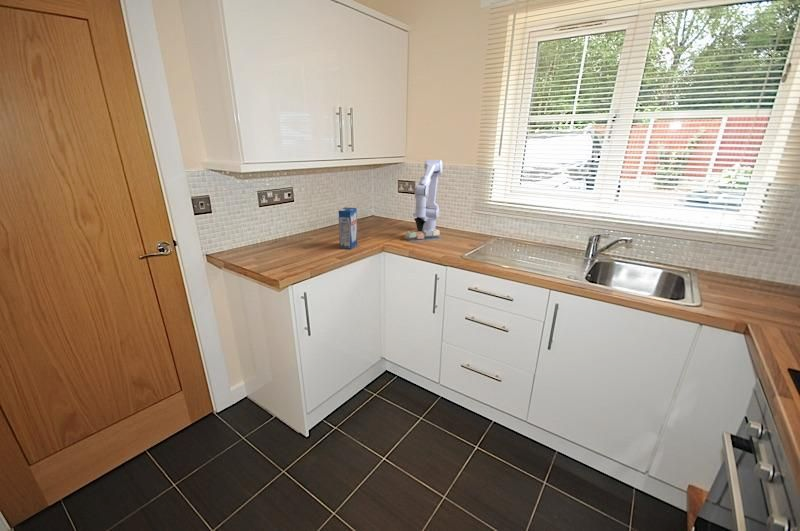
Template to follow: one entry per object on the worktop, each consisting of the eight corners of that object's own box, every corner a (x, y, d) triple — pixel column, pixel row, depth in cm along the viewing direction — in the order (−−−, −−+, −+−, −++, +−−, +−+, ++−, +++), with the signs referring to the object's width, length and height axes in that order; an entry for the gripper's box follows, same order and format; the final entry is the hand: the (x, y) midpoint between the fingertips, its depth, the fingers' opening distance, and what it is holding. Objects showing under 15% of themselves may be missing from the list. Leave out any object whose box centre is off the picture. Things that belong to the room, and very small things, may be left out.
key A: (430, 233, 201) (430, 229, 200) (436, 233, 203) (436, 229, 202) (433, 235, 198) (433, 231, 197) (439, 234, 199) (439, 230, 198)
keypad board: (403, 238, 200) (403, 236, 199) (433, 236, 207) (433, 234, 207) (411, 244, 190) (411, 242, 189) (443, 241, 197) (443, 239, 197)
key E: (406, 235, 196) (407, 231, 195) (413, 235, 197) (413, 231, 196) (409, 237, 192) (410, 233, 191) (416, 236, 194) (416, 232, 193)
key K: (422, 234, 199) (422, 230, 199) (428, 233, 201) (428, 229, 200) (425, 236, 196) (425, 231, 195) (431, 235, 197) (432, 231, 197)
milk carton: (351, 249, 178) (350, 211, 171) (339, 248, 179) (338, 210, 172) (357, 244, 187) (356, 208, 180) (346, 243, 188) (345, 207, 181)
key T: (414, 237, 198) (414, 233, 197) (420, 236, 199) (421, 232, 199) (417, 239, 195) (417, 234, 194) (424, 238, 196) (424, 234, 195)
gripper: (408, 205, 196) (408, 228, 200) (420, 209, 183) (418, 234, 188) (419, 204, 198) (419, 227, 203) (431, 209, 186) (430, 233, 191)
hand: (419, 230), depth 196 cm, fingers closed
